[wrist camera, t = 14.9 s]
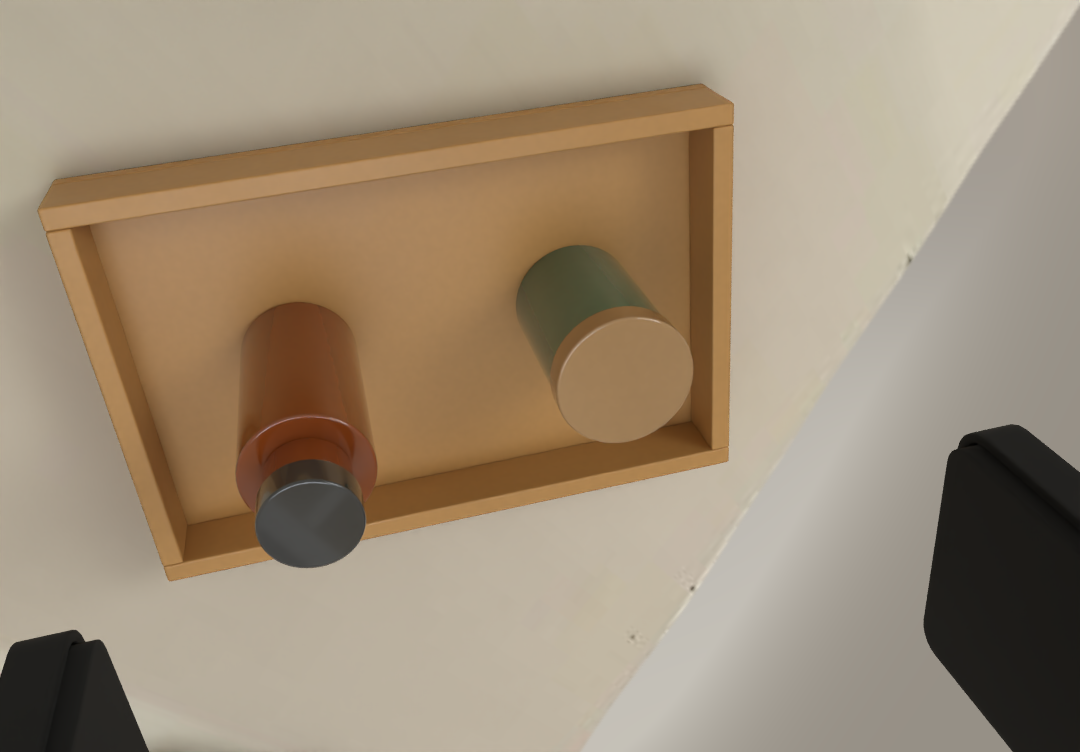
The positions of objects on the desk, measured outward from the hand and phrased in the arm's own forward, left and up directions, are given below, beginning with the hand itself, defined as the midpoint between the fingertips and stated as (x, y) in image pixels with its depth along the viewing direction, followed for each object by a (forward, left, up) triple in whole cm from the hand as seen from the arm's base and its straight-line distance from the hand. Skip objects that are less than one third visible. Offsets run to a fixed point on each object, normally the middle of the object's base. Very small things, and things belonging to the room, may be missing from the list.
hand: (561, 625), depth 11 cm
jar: (+10, +7, -28) cm, 30 cm away
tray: (+10, +1, -28) cm, 30 cm away
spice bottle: (+10, -4, -28) cm, 30 cm away
